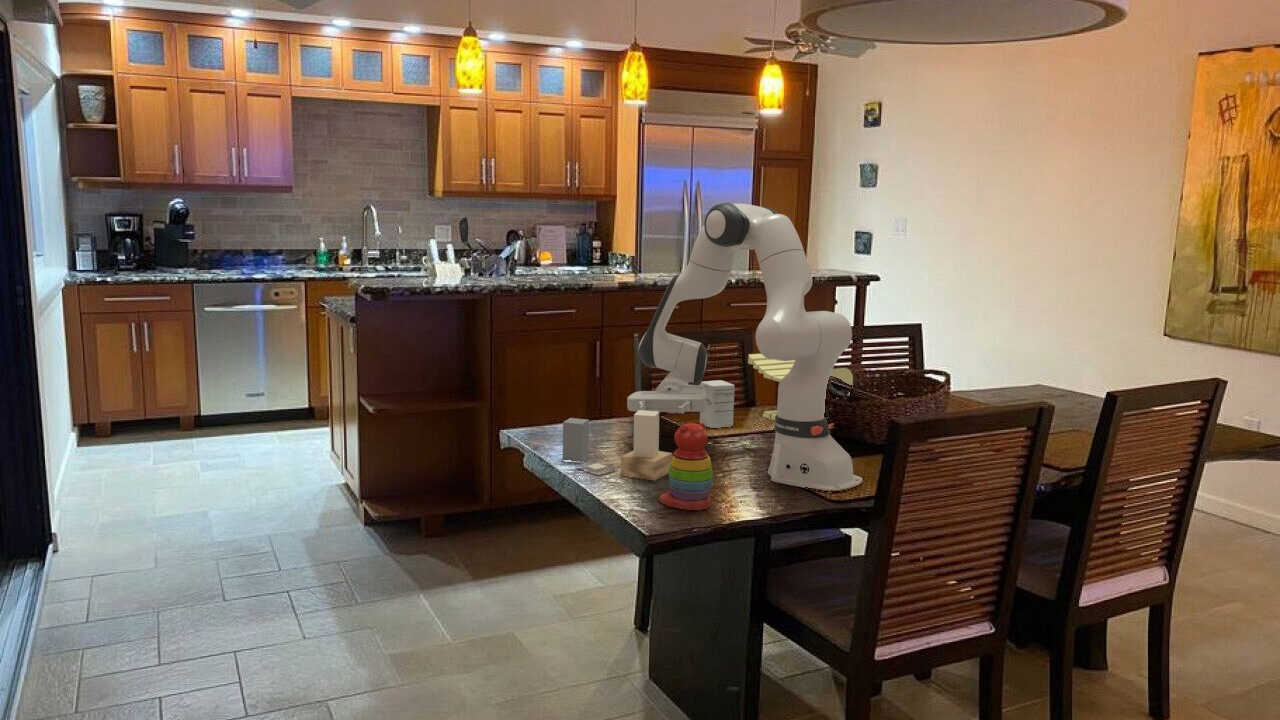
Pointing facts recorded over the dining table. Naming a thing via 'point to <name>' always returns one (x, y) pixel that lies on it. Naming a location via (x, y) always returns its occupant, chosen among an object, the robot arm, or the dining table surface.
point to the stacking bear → (689, 470)
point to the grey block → (575, 439)
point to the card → (599, 467)
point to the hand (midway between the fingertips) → (661, 410)
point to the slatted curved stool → (782, 368)
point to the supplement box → (718, 404)
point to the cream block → (646, 433)
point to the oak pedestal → (646, 465)
